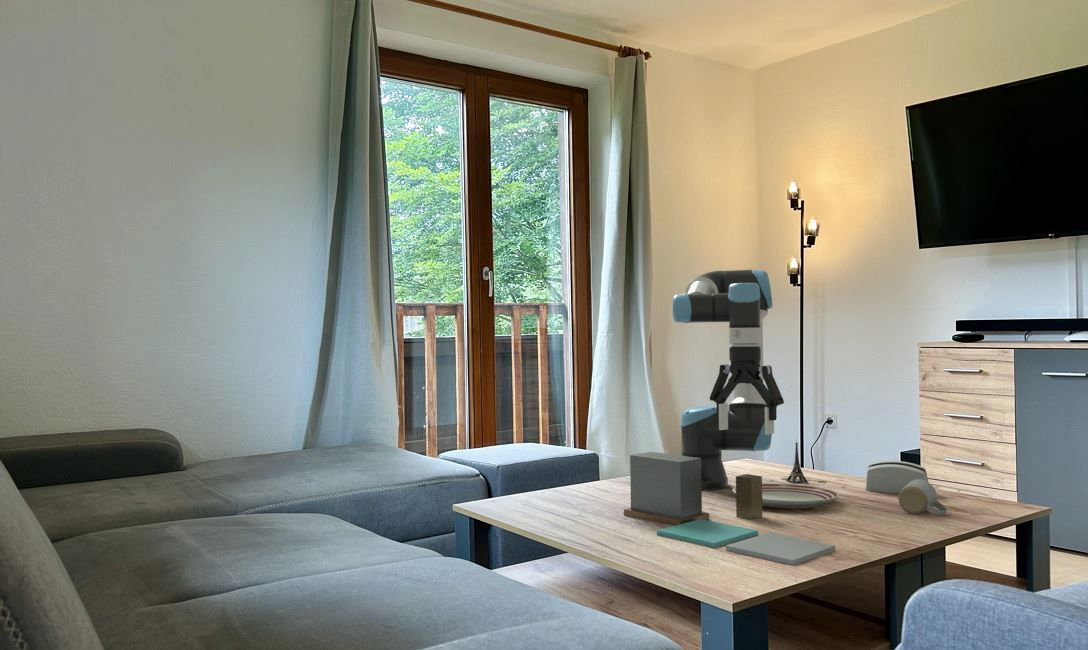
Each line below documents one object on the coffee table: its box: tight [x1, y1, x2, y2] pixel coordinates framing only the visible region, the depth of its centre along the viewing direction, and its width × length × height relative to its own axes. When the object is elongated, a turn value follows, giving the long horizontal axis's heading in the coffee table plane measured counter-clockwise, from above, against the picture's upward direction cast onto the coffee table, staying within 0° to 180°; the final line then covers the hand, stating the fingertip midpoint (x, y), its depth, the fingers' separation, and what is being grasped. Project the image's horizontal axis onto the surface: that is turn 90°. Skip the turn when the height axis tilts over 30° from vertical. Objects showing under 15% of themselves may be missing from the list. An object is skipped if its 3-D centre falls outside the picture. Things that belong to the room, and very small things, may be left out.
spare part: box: [735, 473, 763, 520], centre depth 212 cm, size 4×4×10 cm
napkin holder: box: [865, 460, 929, 494], centre depth 240 cm, size 17×5×10 cm, turn 60°
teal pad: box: [656, 519, 759, 548], centre depth 195 cm, size 16×16×1 cm
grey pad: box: [725, 532, 836, 566], centre depth 180 cm, size 16×16×1 cm
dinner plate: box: [732, 482, 840, 509], centre depth 230 cm, size 28×27×3 cm
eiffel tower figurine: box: [768, 439, 828, 485], centre depth 258 cm, size 15×10×13 cm
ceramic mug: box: [897, 479, 948, 517], centre depth 214 cm, size 11×8×8 cm
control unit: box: [623, 451, 710, 526], centre depth 213 cm, size 18×11×15 cm, turn 42°
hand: (746, 431), depth 212 cm, fingers open, 13 cm apart
